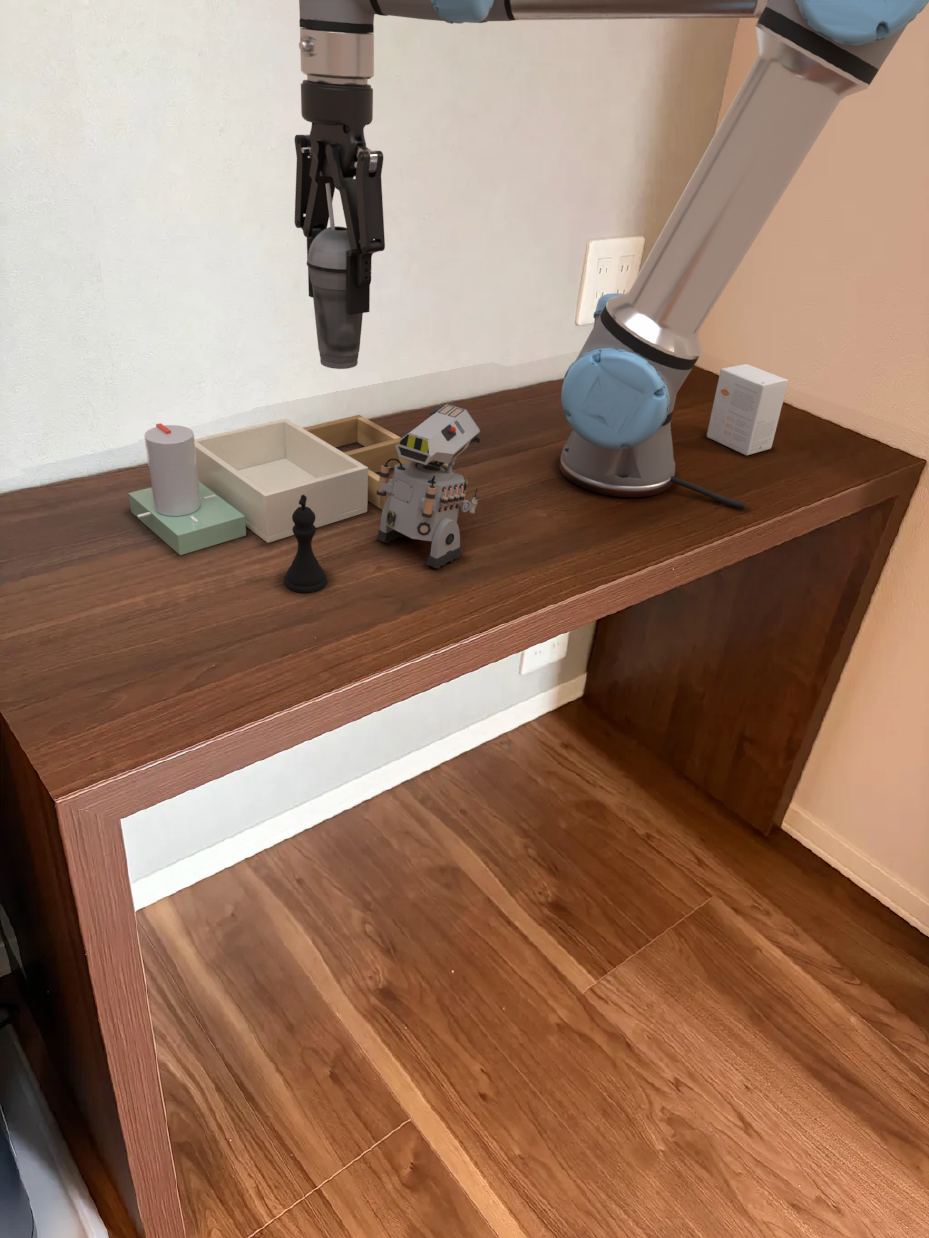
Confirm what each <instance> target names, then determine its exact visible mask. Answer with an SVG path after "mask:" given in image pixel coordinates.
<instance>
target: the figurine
mask: <svg viewBox="0 0 929 1238" xmlns="http://www.w3.org/2000/svg"><path fill="white" fill-rule="evenodd" d="M428 414H429V417H427V418H426V419H425V420H423V422H421V423H420V424H419V425H417V426H415V428H413V429H412V430H411V431H409V432H408V433H406V434H405V435H404V436H403V437H401V438H402V440H401V441H400V442H398V443H397V444H396V445H395V447H396V450H397V453H398V456H400V457H403V458H406V459H409V460H412V462H410V463H406V464H402V463H401V462H400V461H399V460H398V459H389V460H388V461H387V462H386V464H385V465H381V471H380V472H379V476H380V477H379V484H378V490H377V493H376V494H377V495H379V496H386V493H387V492H388V493H390V496H389V497H388V498H387V500H386V502H385V504H384V507H383V510H382V509H381V510H382V511H381V516H380V526H379V529H378V531H377V537H376V538H377V540H379V541H380V542H382V543H386V544H390V543H391V541H392V542H394V541H396V539H397V538H398V537H400V538H403V537H404V536H405V537H408V538H410V539H411V540H420V541H425V542H431V546H430V553H429V554H428V556H427V563H426V564H427V565H428V566H430V567H432V568H434V569H440V568H441V567H442V566H443V567H445V566H446V564H447V563H448V562H450V563H452V562H454V560H458V559H459V557H460V556H462V546H461V531H460V527H459V524H458V519H459V518H458V517H459V513H460V511H461V512H463V513H467V512H468V513H471V514H475V513H476V508H477V506H478V504H479V503H478V499H477V498H476V497H477V492H478V489H479V488H478V487H476V488H475V493H474V495H472V498H471V501H469V500H468V499H465V498H466V494H467V487H468V483H469V482H468V479H467V478H464V475H462V474H460V473H457V472H456V471H454V470H453V466H455V463H456V461H457V459H456V458H457V457H458V456H459V455H461V453H463V452H464V451H465V450H467V448H469V447H470V446H471V445H472V444H473V443H477V444H480V442H481V439H480V438H479V437H478V436H479V434H480V433H481V430H480V428H479V426H478V425H477V424H476V421H474V419H473V418H472V416H471V415H470V413H469V412H468V410H467V409H465V408H461V407H458V406H455V405H451V404H449V403H446V404H445V405H444V406H443V407H441V406H440V405H437V406H436V407H435V408H433V409H432V410H431V411H430V412H429V413H428ZM391 460H396V461H398V462H399V464H397V465H395V467H394V468H393V474H392V479H393V480H389V477H390V467H389V466H388V465H387V463H388V462H389V461H391ZM444 463H447V464H448V466H446V465H444Z"/></svg>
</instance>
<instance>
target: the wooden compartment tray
mask: <svg viewBox="0 0 929 1238" xmlns="http://www.w3.org/2000/svg"><path fill="white" fill-rule="evenodd" d="M302 428H303V429H305V430H307V431H308V432H310V433H312V434H313V435H315V436H317V437H318V438H320V439H322V440H323V441H325V442H326V443H328V444H330V445H331V446H333V447H335V448H336V449H338V448H340V447H344V446H348V445H352V444H355V443H358V444H359V445H361V446H363V447H360V448H355V449H352V450H347V451H343V453H345V454H346V455H348V456H350V457H351V458H353V459H355V460H356V461H358V462H360V463H361V464H363V465H365V466H366V467H368V502H370V503H371V504H372V505H374V506H376V507H377V508H379V509H380V510H383V507H384V504H385V502H386V500H387V498H388V497H389V496H390V493H388V492H387V493H386V496H379V495H377V494H376V493H377V490H378V484H379V477H380V474H377V473H380V471H381V465H385V464H386V462H387V461H388V460H389V459H398V460H399V461H400V462H401V463H402V464H406V463H410V462H412V460H409V459H406V458H403V457H400V456H398V453H397V450H396V447H395V445H396V444H397V443H398V442H400V441H401V440H402V438H403V437H401V436H399V435H397V434H395V433H394V432H391V431H390V430H389V429H386V428H384V427H382V426H380V425H379V424H378V423H375V422H373V421H372V420H370V419H368V418H366V417H364V416H362V415H360V414H356V415H352V416H348V417H344V418H339V419H335V420H330V421H326V422H322V423H318V424H313V425H310V426H306V427H302ZM397 464H399V462H398V461H396V460H391V461H389V462H388V463H387V465H388V466H389V467H390V469H394V467H395V465H397ZM444 465H446V466H448V464H447V463H444ZM388 480H393V478H390V479H389V478H388Z"/></svg>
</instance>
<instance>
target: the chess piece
mask: <svg viewBox="0 0 929 1238" xmlns="http://www.w3.org/2000/svg"><path fill="white" fill-rule="evenodd" d="M306 500H307V497H306V496H305V495H301V499H300V500H299V504H300V505H301V507H298V508H297V509H296V510H295V511H294V513H293V515H292V520H293V522H294V524H295V525H294V526H293V529H292V530H293V533H294V535H293V536H294V537H295V539H296V541H297V551H296V555H295V556H294V558H293V560H292V562H291V565H290V566H289V567H288V569H287V571H286V574H285V576H284V579H283V583H284V586H285V587H286V588H287V589H289V590H291V591H292V592H295V593H302V594H307V593H308V594H309V593H315V592H318V591H321V590H322V589H324V588H325V587H326V585H327V584H328V576H327V574H326V573H325V570H324V568H323V567H322V566H321V564H320V563H319V560H317V557H316V556H315V554H314V552H313V546H312V541H313V538H314V536H315V534H316V531H317V528H316V527H315V526H314V525H313V524H314V521H315V518H316V517H315V514H314V512H313V511H312V510H311V509H310V508H309V507H305V506H306Z"/></svg>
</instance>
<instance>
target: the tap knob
mask: <svg viewBox="0 0 929 1238" xmlns="http://www.w3.org/2000/svg"><path fill="white" fill-rule="evenodd" d="M194 439H195V433H194V431H193V430H192V429H191V428H189V427H187V426H184V425H183V426H182V425H178V424H177V425H176V424H166V425H164V424H163V423H161V422H159V423H156V424H155V427H151V428H149V429H148V430H146V431H145V433H144V443H145V451H146V458H147V459H146V460H147V466H148V474H149V480H150V488H151V489H152V497H153V505H154V509H155V510H156V511H157V512H158V513H160V514H163V515H167V516H183V515H188V514H191V513H193V512H195V511H197V510H198V509H199V508H200V506H201V501H200V491H199V482H198V472H197V462H196V452H195V442H194Z"/></svg>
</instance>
